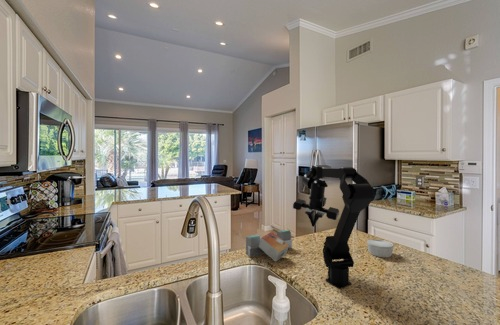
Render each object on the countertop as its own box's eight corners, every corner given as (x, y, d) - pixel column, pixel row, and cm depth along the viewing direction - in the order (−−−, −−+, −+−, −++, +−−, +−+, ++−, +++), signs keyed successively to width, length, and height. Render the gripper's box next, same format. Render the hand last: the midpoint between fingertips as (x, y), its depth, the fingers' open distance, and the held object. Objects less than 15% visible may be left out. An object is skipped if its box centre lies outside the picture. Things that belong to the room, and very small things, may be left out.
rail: (292, 248, 117) (293, 239, 117) (250, 258, 106) (251, 247, 106) (289, 246, 120) (289, 237, 120) (247, 255, 108) (247, 245, 108)
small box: (279, 253, 99) (261, 237, 105) (275, 262, 102) (257, 246, 107) (289, 245, 105) (272, 230, 111) (286, 254, 107) (268, 239, 113)
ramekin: (386, 249, 117) (386, 239, 116) (398, 259, 105) (398, 247, 105) (363, 248, 118) (363, 238, 118) (372, 258, 107) (372, 246, 106)
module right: (290, 248, 118) (290, 230, 118) (282, 249, 116) (282, 231, 116) (284, 244, 123) (284, 227, 123) (276, 246, 120) (276, 229, 120)
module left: (260, 254, 110) (260, 235, 109) (251, 256, 107) (251, 237, 107) (255, 251, 114) (255, 232, 114) (245, 253, 111) (245, 234, 111)
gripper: (344, 192, 102) (339, 224, 107) (302, 183, 112) (300, 213, 116) (338, 201, 93) (333, 236, 97) (293, 190, 103) (291, 223, 107)
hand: (313, 226), depth 105 cm, fingers closed
